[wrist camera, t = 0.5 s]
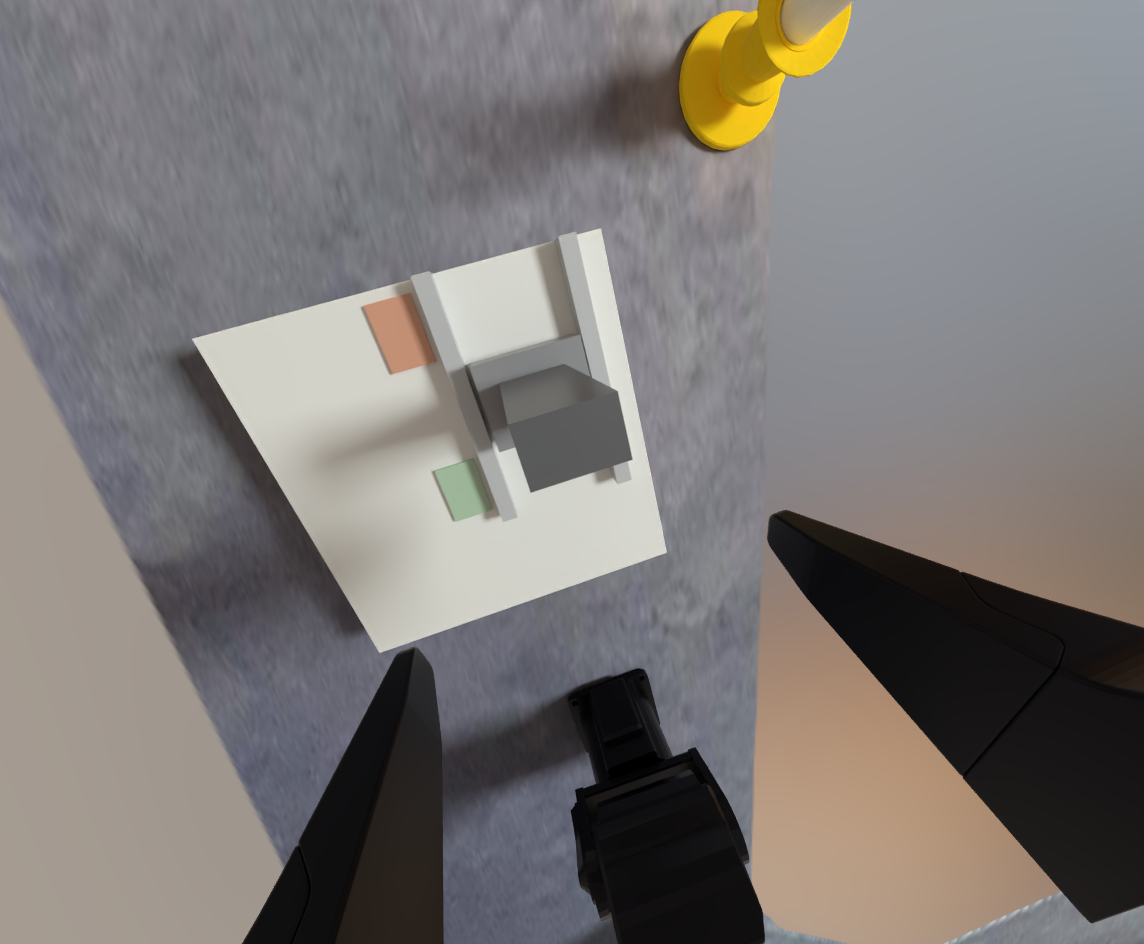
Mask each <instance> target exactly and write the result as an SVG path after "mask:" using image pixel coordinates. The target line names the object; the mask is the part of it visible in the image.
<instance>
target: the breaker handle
mask: <svg viewBox="0 0 1144 944" xmlns="http://www.w3.org/2000/svg"><path fill="white" fill-rule="evenodd" d="M469 368H470V371H471V374H472V377H473V379H474V382H475V385H476V388H477V391H478V394H479V396H480V399H481V402H482V405H483V408H484V411H485V413H486V416H487V419H488V422H489V425H490V428H491V430H492V433H493V436H494V439H495V442H496V445H497V447H498V450H499V452H502V451H505V450H509V449H512V448H516V451H517V454H518V457H519V460H520V463H521V466H522V469H523V472H524V474H525V477H526V480H527V483H528V486H529V489H530V492H531V493H532V492H535V491H538V490H541V489H544V488H547V487H550V486H553V485H556V484H559V483H563V482H566V481H569V480H572V479H575V478H578V477H581V476H584V475H587V474H590V473H593V472H596V471H599V470H603V469H606V468H609V467H612V466H615V465H618V464H621V463H624V462H627V461H630V460H633V459H632V454H631V449H630V445H629V440H628V436H627V431H626V427H625V422H624V418H623V413H622V408H621V404H620V399H619V395H618V391H617V390H615V389H613V388H611V387H609V386H607V385H605V384H603V383H601V382H599V381H597V380H595V379H593V378H591V377H590V373H589V369H588V365H587V361H586V357H585V353H584V349H583V345H582V340H581V336H580V335H579V334H568V335H565V336H562V337H558V338H555V339H551V340H548V341H545V342H541V343H538V344H534V345H531V346H527V347H524V348H521V349H517V350H514V351H510V352H507V353H504V354H500V355H497V356H493V357H490V358H486V359H483V360H480V361H476V362H473V363H471V364H470V366H469Z"/></svg>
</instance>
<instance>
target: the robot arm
mask: <svg viewBox="0 0 1144 944" xmlns="http://www.w3.org/2000/svg"><path fill="white" fill-rule="evenodd" d="M767 540H768V543H769V545H770V547H771V549H772V550H773V551H774V553H775V554H776V556H777V557H778V559H779V560H780V562H781V563H782V564H783V566H784V567H785V569H786V570H787V571H788V572H789V574H790V576H791V577H792V579H793V580H794V581H795V583H796V584H797V586H798V587H799V588H800V590H801V591H802V592H803V594H804V595H805V596H806V598H807V599H808V600H809V601H810V602H811V604H812V605H813V606H814V607H815V608H816V609H817V611H818V612H819V613H820V614H821V615H822V616H823V617H824V619H825V620H826V621H827V622H828V623H829V624H830V626H831V627H832V628H833V629H834V630H835V631H836V632H837V633H838V635H839V636H840V637H841V638H842V639H843V640H844V642H845V643H846V644H847V645H848V646H849V647H850V648H851V650H852V651H853V652H854V653H855V654H856V655H857V657H858V658H860V660H861V661H862V662H863V663H864V665H865V666H866V667H867V668H868V669H869V670H870V672H871V673H872V674H873V675H874V676H875V677H876V678H877V680H878V681H879V682H880V683H881V684H882V685H883V686H884V688H885V689H886V690H887V691H888V692H889V693H890V695H891V696H892V697H893V698H894V699H895V700H896V701H897V703H898V704H899V705H900V706H901V707H902V708H903V709H904V711H905V712H906V713H907V714H908V715H909V716H910V717H911V719H912V720H913V721H914V722H915V723H916V724H917V725H918V727H919V728H920V729H921V730H922V731H923V732H924V733H925V735H926V736H927V737H928V738H929V739H930V740H931V742H932V743H933V744H934V745H935V746H936V747H937V749H938V750H939V751H940V752H941V753H942V754H943V755H944V756H945V758H946V759H947V760H948V761H949V762H950V763H951V765H952V766H953V767H954V768H955V769H956V770H957V771H958V773H959V774H960V775H962V776H963V779H964V780H965V781H966V782H967V783H968V785H969V786H970V787H971V788H972V789H973V790H974V791H975V793H977V795H978V796H979V797H980V798H981V799H982V801H983V802H984V803H985V804H986V805H987V806H988V807H989V809H990V810H991V811H992V812H993V813H994V814H995V816H996V817H997V818H998V819H999V820H1000V821H1001V823H1003V825H1004V826H1005V827H1006V828H1007V829H1008V831H1009V832H1010V833H1011V834H1012V835H1013V836H1014V837H1015V839H1016V840H1017V841H1018V842H1019V843H1020V844H1021V845H1022V846H1023V848H1024V849H1025V850H1026V851H1027V852H1028V853H1029V855H1030V856H1031V857H1032V858H1033V859H1034V860H1035V861H1036V863H1037V864H1038V865H1039V866H1040V867H1041V868H1042V869H1043V871H1044V872H1045V873H1046V874H1047V875H1048V876H1049V877H1050V879H1051V880H1052V881H1053V882H1054V883H1055V885H1056V886H1057V887H1058V888H1059V889H1060V890H1061V891H1062V893H1063V894H1064V895H1065V896H1066V897H1067V898H1068V899H1069V901H1070V902H1071V903H1072V904H1073V905H1074V906H1075V907H1076V909H1077V910H1078V911H1079V912H1080V913H1081V914H1082V915H1083V916H1084V917H1085V918H1086V919H1087V920H1088V921H1089V922H1090V923H1095V922H1098V921H1101V920H1104V919H1106V918H1109V917H1112V916H1115V915H1118V914H1121V913H1123V912H1126V911H1129V910H1132V909H1135V908H1138V907H1140V906H1143V905H1144V628H1143V627H1140V626H1136V625H1132V624H1129V623H1126V622H1123V621H1119V620H1116V619H1112V618H1109V617H1106V616H1102V615H1099V614H1095V613H1092V612H1088V611H1085V610H1082V609H1078V608H1075V607H1071V606H1068V605H1065V604H1061V603H1058V602H1054V601H1051V600H1048V599H1045V598H1041V597H1038V596H1034V595H1031V594H1028V593H1024V592H1022V591H1018V590H1015V589H1012V588H1009V587H1006V586H1003V585H1000V584H997V583H994V582H991V581H988V580H985V579H983V578H980V577H977V576H974V575H971V574H968V573H965V572H959V570H956V569H954V568H951V567H948V566H945V565H942V564H940V563H937V562H934V561H931V560H928V559H925V558H922V557H919V556H916V555H914V554H911V553H908V552H905V551H903V550H900V549H897V548H894V547H891V546H888V545H885V544H883V543H880V542H877V541H874V540H871V539H868V538H865V537H863V536H860V535H857V534H854V533H851V532H848V531H845V530H843V529H840V528H837V527H834V526H831V525H828V524H826V523H823V522H820V521H817V520H814V519H811V518H808V517H806V516H803V515H800V514H797V513H794V512H791V511H788V510H783V511H780V512H777V513H775V514H773V515H771V516H770V517H769V525H768V534H767ZM640 676H641V677H640ZM568 704H569V707H570V710H571V713H572V715H573V718H574V721H575V723H576V726H577V728H578V731H579V734H580V736H581V739H582V742H583V744H584V747H585V749H586V752H588V753H589V757H590V761H591V765H592V769H593V774H594V778H595V782H596V784H595V785H592V786H589V787H586V788H584V789H583V787H582V788H579V789H576V790H575V792H576V798H577V802H576V803H575V806H574V807H573V809H572V810H571V815H572V821H573V827H574V833H575V840H576V852H577V867H578V877H579V882H580V886H581V888H582V889H584V890H585V891H586V892H587V893H588V894H590V895H591V897H592V901H593V904H594V905H595V904H596V906H597V910H598V914H599V917H600V919H601V921H603V920H606V919H608V918H611V917H612V919H613V924H614V928H615V932H616V937H617V941H618V944H764V942H765V934H764V922H763V912H762V908H761V906H760V904H759V901H758V898H757V895H756V893H755V891H754V888H753V886H752V883H751V880H750V878H749V875H748V873H747V870H746V868H745V864H747V863H749V854H748V850H747V847H746V843H745V840H744V837H743V835H742V832H741V829H740V827H739V824H738V822H737V819H736V817H735V815H734V813H733V810H732V808H731V806H730V804H729V802H728V800H727V798H726V797H725V795H724V793H723V792H722V790H721V788H720V787H719V785H718V783H717V782H716V780H715V778H714V777H713V775H712V774H711V772H710V770H709V769H708V767H707V765H706V764H705V762H704V760H703V759H702V757H701V756H700V754H699V752H698V751H697V749H696V748H695V747H694V748H691V749H688V751H687V752H685V753H682V754H679V755H676V756H673V755H672V753H671V751H670V748H669V746H668V744H667V741H666V739H665V737H664V734H663V732H662V730H661V727H660V721H659V717H658V713H657V710H656V706H655V702H654V698H653V694H652V691H651V687H650V683H649V679H648V676H647V673H646V671H645V670H643V669H640V670H637V671H634V672H631V673H629V674H626V675H623V676H621V677H618V678H615V679H613V680H610V681H607V682H605V683H602V684H599V685H597V686H594V687H591V688H589V689H586V690H583V691H581V692H578V693H575V694H572V695H571V696H569V697H568ZM298 844H299V846H296V847H295V849H294V850H293V852H292V854H291V856H290V858H289V860H288V862H287V864H286V866H285V868H284V869H283V871H282V873H281V875H280V877H279V879H278V881H277V883H276V885H275V886H274V888H273V890H272V892H271V893H270V895H269V897H268V899H267V901H266V903H265V905H264V906H263V908H262V910H261V912H260V914H259V915H258V917H257V919H256V921H255V922H254V924H253V926H252V927H251V929H250V931H249V933H248V934H247V936H246V938H245V939H244V941H243V943H242V944H444V943H443V815H442V741H441V731H440V722H439V714H438V706H437V697H436V689H435V680H434V673H433V669H432V666H431V665H430V663H429V662H428V660H427V659H426V658H425V656H424V655H423V653H422V652H421V651H420V649H419V648H418V647H415V646H414V647H411V648H408V649H405V650H403V651H400V652H399V653H398V654H397V655H396V656H395V658H394V660H393V662H392V664H391V666H390V668H389V669H388V671H387V673H386V675H385V677H384V679H383V681H382V683H381V685H380V687H379V689H378V690H377V692H376V694H375V696H374V698H373V700H372V702H371V704H370V706H369V708H368V710H367V711H366V713H365V715H364V717H363V719H362V721H361V723H360V725H359V727H358V729H357V731H356V732H355V734H354V736H353V738H352V740H351V742H350V744H349V746H348V748H347V750H346V751H345V753H344V755H343V757H342V759H341V761H340V763H339V765H338V767H337V769H336V771H335V772H334V774H333V776H332V778H331V780H330V782H329V784H328V786H327V788H326V790H325V792H324V793H323V795H322V797H321V799H320V801H319V803H318V805H317V807H316V809H315V811H314V813H313V814H312V816H311V818H310V820H309V822H308V824H307V826H306V828H305V830H304V832H303V834H302V835H301V837H300V839H299V842H298Z"/></svg>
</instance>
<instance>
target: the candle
mask: <svg viewBox="0 0 1144 944" xmlns="http://www.w3.org/2000/svg"><path fill="white" fill-rule="evenodd" d="M853 1H855V0H759V2H758V8H757V10H755V11H751V12H749V13H745V12H741V11H729V12H723V13H721V14H719V15H717V16H715V17H713V18H711V19H710V20H709V21H708V22H707V23H706V24H705V25H704V26H703V27H702V28H701V29H700V30H699V31H698V33H697V34H696V35H695V37H694V39H693V40H692V42H691V44H690V45H689V47H688V49H687V51H686V54H685V57H684V60H683V63H682V66H681V72H680V80H679V93H680V104H681V107H682V111H683V114H684V118H685V120H686V122H687V124H688V126H689V127H690V129H691V131H692V133H693V134H694V135H695V136H696V137H697V138H698V139H699V140H700V141H701V142H702V143H704V144H706V145H708V146H709V147H711V148H713V149H719V150H724V151H725V150H731V149H737V148H739V147H741V146H743V145H744V144H746V143H748V142H750V141H751V140H753V139H754V138H755V137H756V136H757V135H758V134H759V133H760V132H761V131H762V130H763V129H764V127H765V126H766V124H767V123H768V121H769V120H770V118H771V117H772V114H773V112H774V109H775V107H776V104H777V102H778V97H779V92H780V87H781V85H782V83H783V81H784V78H785V76H786V75H789V76H793V77H803V76H809V75H811V74H813V73H815V72H817V71H819V70H821V69H822V68H823V67H824V66H825V65H826V64H827V63H828V62H829V61H830V60H831V59H832V58H833V57H834V55H835V54H836V52H837V51H838V49H839V47H840V46H841V44H842V41H843V39H844V37H845V34H846V32H847V28H848V24H849V20H850V15H851V3H852V2H853Z"/></svg>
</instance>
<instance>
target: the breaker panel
mask: <svg viewBox="0 0 1144 944" xmlns="http://www.w3.org/2000/svg"><path fill="white" fill-rule="evenodd" d="M411 279H412V280H408V281H404V282H401V283H397V284H393V285H390V286H386V287H382V288H378V289H375V290H371V291H367V292H364V293H360V294H356V295H353V296H349V297H345V298H342V299H338V300H334V301H330V302H327V303H323V304H319V305H316V306H312V307H308V308H305V309H301V310H297V311H293V312H290V313H286V314H282V315H279V316H275V317H271V318H268V319H264V320H260V321H257V322H253V323H249V324H245V325H242V326H238V327H234V328H231V329H227V330H223V331H220V332H216V333H212V334H209V335H205V336H201V337H197V338H194V339H192V340H193V341H194V343H195V345H196V347H197V348H198V350H199V352H200V353H201V355H202V357H203V358H204V360H205V362H206V363H207V365H208V367H209V368H210V370H211V372H212V373H213V375H214V377H215V378H216V380H217V382H218V383H219V385H220V387H221V388H222V390H223V392H224V393H225V395H226V397H227V398H228V400H229V402H230V403H231V405H232V407H233V408H234V410H235V412H236V413H237V415H238V417H239V418H240V420H241V422H242V423H243V425H244V427H245V429H246V430H247V432H248V434H249V435H250V437H251V439H252V440H253V442H254V444H255V445H256V447H257V449H258V450H259V452H260V454H261V455H262V457H263V459H264V460H265V462H266V464H267V465H268V467H269V469H270V470H271V472H272V474H273V475H274V477H275V479H276V480H277V482H278V484H279V485H280V487H281V489H282V490H283V492H284V494H285V495H286V497H287V499H288V500H289V502H290V504H291V505H292V507H293V509H294V511H295V512H296V514H297V516H298V517H299V519H300V521H301V522H302V524H303V526H304V527H305V529H306V531H307V532H308V534H309V536H310V537H311V539H312V541H313V542H314V544H315V546H316V547H317V549H318V551H319V552H320V554H321V556H322V557H323V559H324V561H325V562H326V564H327V566H328V567H329V569H330V571H331V572H332V574H333V576H334V577H335V579H336V581H337V582H338V584H339V586H340V588H341V589H342V591H343V593H344V594H345V596H346V598H347V599H348V601H349V603H350V604H351V606H352V608H353V609H354V611H355V613H356V614H357V616H358V618H359V619H360V621H361V623H362V624H363V626H364V628H365V629H366V631H367V633H368V634H369V636H370V638H371V639H372V641H373V643H374V644H375V646H376V648H377V649H378V651H379V653H381V652H384V651H387V650H389V649H392V648H395V647H398V646H401V645H404V644H407V643H410V642H412V641H415V640H418V639H421V638H424V637H427V636H430V635H432V634H435V633H438V632H441V631H444V630H447V629H450V628H452V627H455V626H458V625H461V624H464V623H467V622H470V621H473V620H475V619H478V618H481V617H484V616H487V615H490V614H493V613H495V612H498V611H501V610H504V609H507V608H510V607H513V606H515V605H518V604H521V603H524V602H527V601H530V600H533V599H536V598H538V597H541V596H544V595H547V594H550V593H553V592H556V591H558V590H561V589H564V588H567V587H570V586H573V585H576V584H578V583H581V582H584V581H587V580H590V579H593V578H596V577H599V576H601V575H604V574H607V573H610V572H613V571H616V570H619V569H621V568H624V567H627V566H630V565H633V564H636V563H639V562H641V561H644V560H647V559H650V558H653V557H656V556H659V555H662V554H664V553H667V551H666V546H665V541H664V536H663V532H662V527H661V522H660V517H659V512H658V507H657V502H656V497H655V492H654V487H653V482H652V478H651V473H650V468H649V463H648V458H647V453H646V448H645V443H644V438H643V433H642V428H641V423H640V419H639V414H638V409H637V404H636V399H635V394H634V389H633V384H632V379H631V374H630V369H629V365H628V360H627V355H626V350H625V345H624V340H623V335H622V330H621V325H620V320H619V315H618V311H617V306H616V301H615V296H614V291H613V286H612V281H611V276H610V271H609V266H608V261H607V257H606V252H605V247H604V242H603V237H602V232H601V228H600V229H596V230H593V231H589V232H585V233H582V234H578V235H577V234H576V232H572V233H569V234H565V235H561V236H558V237H557V238H556V240H555V241H552V242H548V243H545V244H541V245H537V246H534V247H530V248H526V249H522V250H519V251H515V252H511V253H508V254H504V255H500V256H497V257H493V258H489V259H486V260H482V261H478V262H474V263H471V264H467V265H463V266H460V267H456V268H452V269H449V270H445V271H441V272H438V273H434V274H432V273H431V272H430V271H428V272H424V273H421V274H417V275H413V276H411ZM568 334H579V335H580V336H581V340H582V345H583V349H584V353H585V357H586V361H587V365H588V369H589V373H590V377H591V378H593V379H595V380H597V381H599V382H601V383H603V384H605V385H607V386H609V387H611V388H613V389H615V390H617V391H618V395H619V399H620V404H621V408H622V413H623V418H624V422H625V427H626V431H627V436H628V440H629V445H630V449H631V454H632V459H633V460H630V461H627V462H624V463H621V464H618V465H615V466H612V467H609V468H606V469H603V470H599V471H596V472H593V473H590V474H587V475H584V476H581V477H578V478H575V479H572V480H569V481H566V482H563V483H559V484H556V485H553V486H550V487H547V488H544V489H541V490H538V491H535V492H532V493H531V492H530V489H529V486H528V483H527V480H526V477H525V474H524V472H523V469H522V466H521V463H520V460H519V457H518V454H517V451H516V448H512V449H509V450H505V451H502V452H499V450H498V447H497V445H496V442H495V439H494V436H493V433H492V430H491V428H490V425H489V422H488V419H487V416H486V413H485V411H484V408H483V405H482V402H481V399H480V396H479V394H478V391H477V388H476V385H475V382H474V379H473V377H472V374H471V371H470V368H469V366H470V364H471V363H473V362H476V361H480V360H483V359H486V358H490V357H493V356H497V355H500V354H504V353H507V352H510V351H514V350H517V349H521V348H524V347H527V346H531V345H534V344H538V343H541V342H545V341H548V340H551V339H555V338H558V337H562V336H565V335H568Z"/></svg>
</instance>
